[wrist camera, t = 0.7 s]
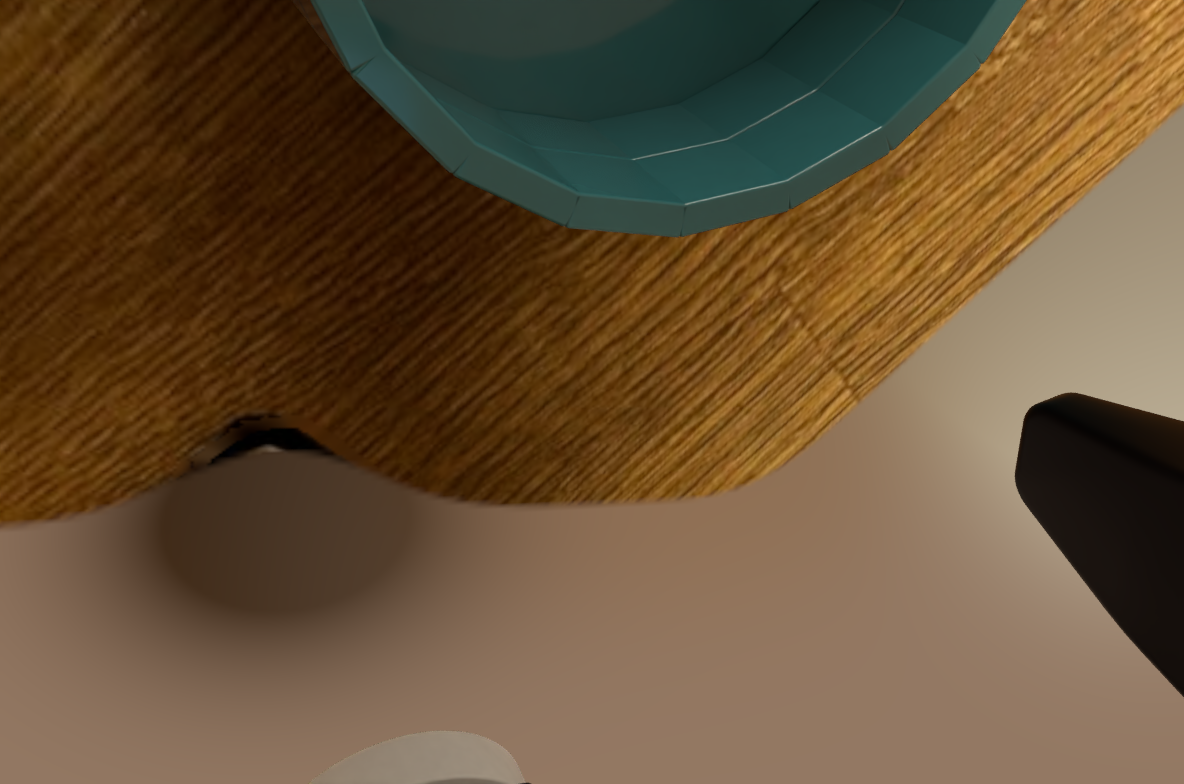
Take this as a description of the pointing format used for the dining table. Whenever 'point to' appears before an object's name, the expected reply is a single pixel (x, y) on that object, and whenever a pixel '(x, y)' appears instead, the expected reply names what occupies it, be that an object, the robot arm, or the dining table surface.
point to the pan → (659, 95)
